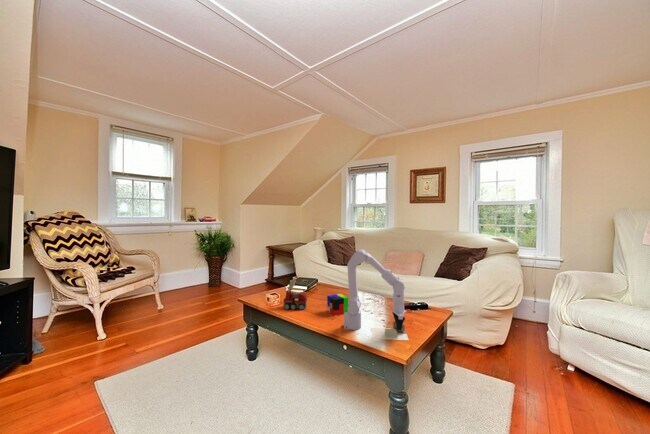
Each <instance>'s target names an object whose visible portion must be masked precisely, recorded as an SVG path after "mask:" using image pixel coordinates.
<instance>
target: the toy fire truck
mask: <svg viewBox="0 0 650 434" xmlns="http://www.w3.org/2000/svg"><path fill="white" fill-rule="evenodd" d="M296 281H297V280H296V279H291V280H290V283H289V285H288V288H287V290H286V291H285V297H284V299H283V308H284V309H285V310H286V309H288V310H289V309H291V310H292V309H293V310H292V311H295V310H296V309H298V310H300V311H303V310H305V308H307V306H308V296H307V294H306V293H305V292H303V291H300V292H293V291H292V290H293V288H294V286H295V283H296Z"/></svg>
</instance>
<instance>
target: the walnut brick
mask: <svg viewBox="0 0 650 434" xmlns="http://www.w3.org/2000/svg"><path fill="white" fill-rule="evenodd" d="M392 328H393V329H396V331H406V325H405V323H404V322H403V325H402V329H401V330H397V326H396V322H395V321H392Z"/></svg>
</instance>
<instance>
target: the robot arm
mask: <svg viewBox="0 0 650 434" xmlns="http://www.w3.org/2000/svg"><path fill="white" fill-rule="evenodd" d="M362 263H364V264H369V265H370V266H372V267H373V268H374V269H376V271H378V272H379V273H380V274H381V279H383V280H384V281H385V282H386V283H387V284H388V285H389V286H391V287H392V290H393V293H392V315H393V318H394V322H396V326H397V330H401V329H402V325H403V323H404V322H405V320H406V316H404V315H405V314H406V313H407V310H405V291H404V290H405V288H406V287H405V284H404V281H403V280H402V279H401V278H400V277H399V276H396V274H395V273H393V272H394V271H393V270H392V269H391V270H390V269H389V268H385V267H384V266H383V265H382V264H381V263H380V262H379V261H378V260H376V259H375V258H374V256H372V254H370V253H369V252H367V251H366V250H365V249H363V248H360V249H358V250H356V251H355V252H354V253H353V254H352V256H351V257H350V259H349V260H348V262H347V264H346V265H347V280H348V295H349V297H348V312H345V313H344V314H343V320H344V321H343V327H344V328H343V329H344V330H351V331H352V330H353V331H359V330H360V329H361V328H362V312H361V310H360V308H361V305H362V302H361V300H360V297H359V296H360V295H359V290H358V289H359V288H358V274H357V267H358V266H359V265H360V264H362Z"/></svg>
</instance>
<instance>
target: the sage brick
mask: <svg viewBox="0 0 650 434" xmlns="http://www.w3.org/2000/svg"><path fill="white" fill-rule="evenodd" d="M385 338H397V332H396V329H385Z"/></svg>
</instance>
